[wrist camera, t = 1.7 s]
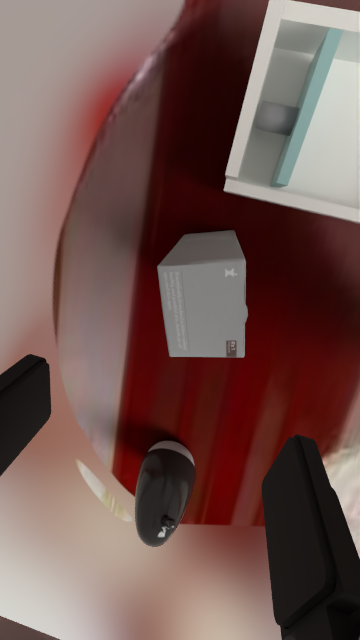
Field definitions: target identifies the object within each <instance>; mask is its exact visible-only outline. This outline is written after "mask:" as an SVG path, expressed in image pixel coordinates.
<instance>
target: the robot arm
mask: <svg viewBox="0 0 360 640" xmlns="http://www.w3.org/2000/svg"><path fill="white" fill-rule="evenodd" d="M50 396H51V395H50V371H49V364H48V363H46V359H45V358H42V357H38V356H35V355H32V354H30V355H27V356H25V357H24V358H23V359H21V360H20V361H18V362H17V363H16V364H15V365H13V366H12V367H10V368H9V369H8V370H7V371H5V372H4V373H2V374H1V375H0V476H1V475H2V474H3V472H4V471H5V470H6V469H7V468H8V467H9V465H10V464H11V463H12V462H13V461H14V460H15V458H16V457H17V456H18V455H19V454H20V452H21V451H22V450H23V449H24V448H25V447H26V445H27V444H28V443H29V442H30V441H31V440H32V438H33V437H34V436H35V435H36V434H37V432H38V431H39V430H40V429H41V428H42V426H43V425H44V424H45V423H46V422H47V421H48V419H49V417H50V415H51V397H50ZM262 498H263V508H264V518H265V529H266V537H267V549H268V559H269V569H270V580H271V590H272V600H273V610H274V617H275V621H276V623H277V624H278V625H280V627H281V636H282V640H360V559H359V556H358V553H357V550H356V547H355V545H354V542H353V539H352V536H351V533H350V530H349V528H348V525H347V522H346V519H345V516H344V513H343V511H342V508H341V505H340V502H339V499H338V497H337V494H336V492H335V491H334V489H333V488H332V487H331V485H330V482H329V479H328V477H327V474H326V471H325V468H324V465H323V462H322V459H321V456H320V453H319V450H318V447H317V444H316V442H315V441H314V440H313V439H310V438H307V437H304V436H300V435H295V436H294V437H293V438H292V437H289V438H288V440H287V441H286V443H285V445H284V446H283V448H282V450H281V451H280V453H279V455H278V456H277V458H276V460H275V461H274V463H273V465H272V466H271V468H270V470H269V471H268V473H267V475H266V476H265V478H264V480H263V483H262ZM0 640H59V639H57V638H55V637H52V636H49V635H47V634H45V633H42V632H40V631H37V630H34V629H32V628H29V627H27V626H24V625H22V624H19V623H17V622H14V621H12V620H9V619H7V618H4V617H1V616H0Z"/></svg>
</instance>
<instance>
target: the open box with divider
mask: <svg viewBox="0 0 360 640" xmlns="http://www.w3.org/2000/svg"><path fill="white" fill-rule="evenodd" d="M329 28H332V29H338V30H343V33H342V36H341V39H340V41H339V44H338V47H337V50H336V53H335V55H334V58H333V61H332V64H331V66H330V69H329V72H328V75H327V78H326V80H325V83H324V86H323V89H322V91H321V94H320V97H319V100H318V103H317V105H316V108H315V111H314V114H313V116H312V119H311V122H310V125H309V128H308V130H307V133H306V136H305V139H304V141H303V144H302V147H301V150H300V153H299V155H298V158H297V161H296V164H295V166H294V169H293V172H292V175H291V178H290V180H289V183H288V186H284V187H281V188H276V187H272V186H270V184H271V181H272V178H273V175H274V172H275V169H276V166H277V163H278V160H279V157H280V154H281V151H282V148H283V145H284V142H285V139H286V135H281V134H277V133H272V132H267V131H263V130H258V129H255V126H256V122H257V119H258V115H259V112H260V108H261V105H262V101H267V102H272V103H277V104H282V105H287V106H292V107H296V106H297V103H298V100H299V97H300V94H301V91H302V88H303V85H304V82H305V79H306V76H307V73H308V70H309V67H310V64H311V61H312V59H313V57H314V55H315V54H316V52H317V50H318V48H319V46H320V44H321V43H322V41H323V39H324V37H325V35H326V33H327V31H328V30H329ZM225 176H226V183H225V187H224V191H225V192H227V193H231V194H235V195H239V196H244V197H248V198H252V199H256V200H261V201H265V202H269V203H273V204H278V205H282V206H286V207H290V208H295V209H299V210H303V211H307V212H312V213H316V214H320V215H324V216H329V217H333V218H337V219H341V220H346V221H350V222H354V223H358V224H360V12H357V11H351V10H345V9H339V8H333V7H327V6H321V5H315V4H309V3H303V2H297V1H291V0H269V4H268V8H267V12H266V16H265V20H264V24H263V28H262V32H261V36H260V39H259V43H258V47H257V51H256V55H255V59H254V63H253V67H252V71H251V75H250V79H249V83H248V87H247V91H246V94H245V98H244V102H243V106H242V110H241V114H240V118H239V122H238V126H237V130H236V134H235V138H234V142H233V146H232V149H231V153H230V157H229V161H228V165H227V169H226V173H225Z"/></svg>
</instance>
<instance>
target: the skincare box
mask: <svg viewBox="0 0 360 640" xmlns="http://www.w3.org/2000/svg"><path fill="white" fill-rule="evenodd" d="M157 269H158V277H159V286H160V293H161V301H162V309H163V316H164V323H165V330H166V337H167V344H168V350H169V356H170V357H244V356H245V322H246V320H247V316H248V311H247V306H246V304H245V297H246V261H245V258H244V255H243V252H242V250H241V247H240V245H239V242H238V239H237V237H236V234H235V231H234V230H230V231H218V232H207V233H196V234H185V235H184V236H183V237H182V238H181V239H180V240H179V242H178V243H177V244H176V245H175V246H174V248H173V249H172V250H171V251H170V252H169V253H168V255H167V256H166V257H165V258H164V259H163V261H162V262H161V263H160V264H159V265H158V266H157Z"/></svg>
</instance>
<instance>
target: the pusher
mask: <svg viewBox="0 0 360 640" xmlns="http://www.w3.org/2000/svg"><path fill="white" fill-rule="evenodd" d="M342 33H343V30H338V29H332V28H329V30H328V31H327V33H326V35H325V37H324V39H323V41H322V43H321V44H320V46H319V48H318V50H317V52H316V54H315V55H314V57H313V59H312V61H311V64H310V67H309V70H308V73H307V76H306V79H305V82H304V85H303V88H302V91H301V94H300V97H299V100H298V103H297V106H296V107H292V106H287V105H282V104H277V103H272V102H267V101H262V105H261V108H260V112H259V115H258V119H257V122H256V126H255V129H258V130H263V131H267V132H272V133H277V134H281V135H286V139H285V142H284V145H283V148H282V151H281V154H280V157H279V160H278V163H277V166H276V169H275V172H274V175H273V178H272V181H271V184H270V186H272V187H276V188H281V187H284V186H288V183H289V180H290V178H291V175H292V172H293V169H294V166H295V164H296V161H297V158H298V155H299V153H300V150H301V147H302V144H303V141H304V139H305V136H306V133H307V130H308V128H309V125H310V122H311V119H312V116H313V114H314V111H315V108H316V105H317V103H318V100H319V97H320V94H321V91H322V89H323V86H324V83H325V80H326V78H327V75H328V72H329V69H330V66H331V64H332V61H333V58H334V55H335V53H336V50H337V47H338V44H339V41H340V39H341V36H342Z"/></svg>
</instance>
